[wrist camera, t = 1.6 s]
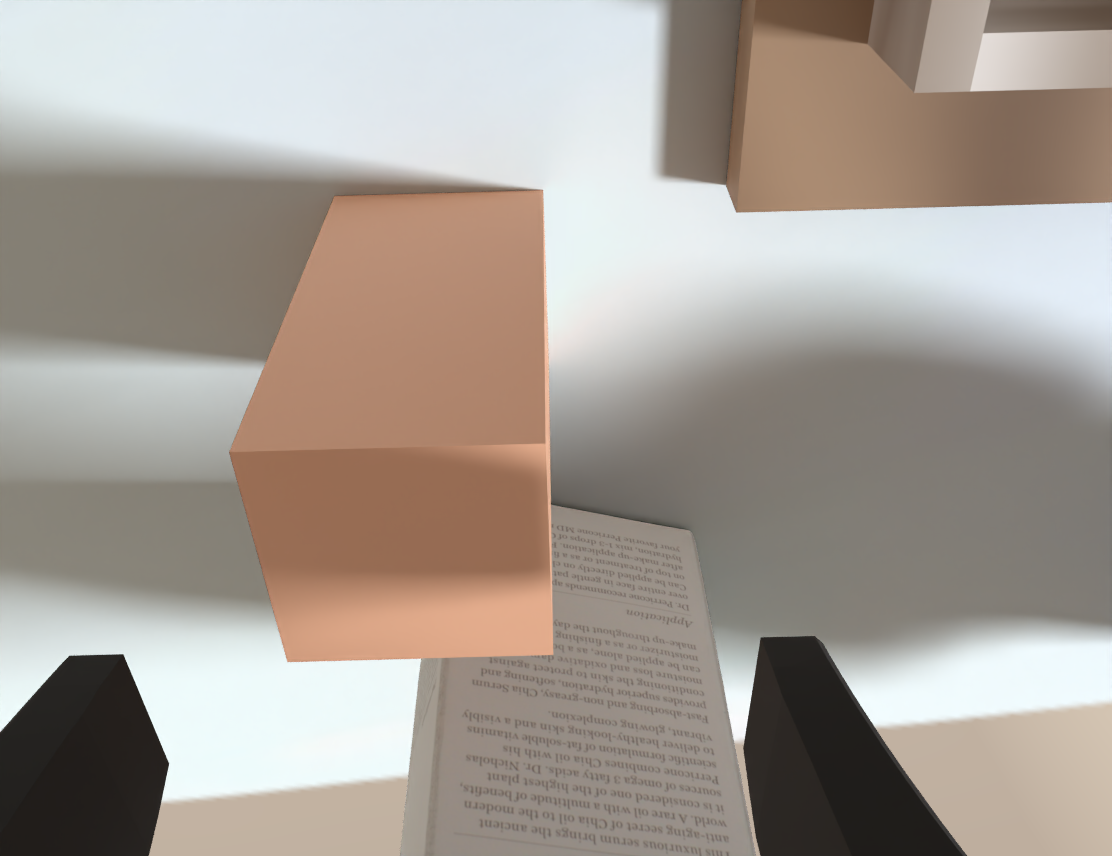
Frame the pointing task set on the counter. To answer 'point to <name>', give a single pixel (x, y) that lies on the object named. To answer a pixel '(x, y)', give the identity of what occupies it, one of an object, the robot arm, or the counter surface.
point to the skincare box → (586, 717)
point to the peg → (408, 435)
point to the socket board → (921, 104)
